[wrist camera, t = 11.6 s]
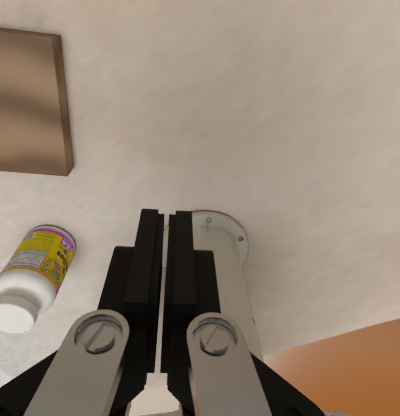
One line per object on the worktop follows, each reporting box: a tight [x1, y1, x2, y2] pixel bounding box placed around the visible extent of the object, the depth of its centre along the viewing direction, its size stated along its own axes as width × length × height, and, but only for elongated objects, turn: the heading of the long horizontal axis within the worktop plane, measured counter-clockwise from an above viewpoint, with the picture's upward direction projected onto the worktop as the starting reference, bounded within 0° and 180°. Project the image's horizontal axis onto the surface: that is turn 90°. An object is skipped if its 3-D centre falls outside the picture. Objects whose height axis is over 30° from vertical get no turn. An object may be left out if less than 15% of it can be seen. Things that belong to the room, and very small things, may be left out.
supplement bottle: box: [0, 226, 75, 333], centre depth 39 cm, size 7×7×13 cm
